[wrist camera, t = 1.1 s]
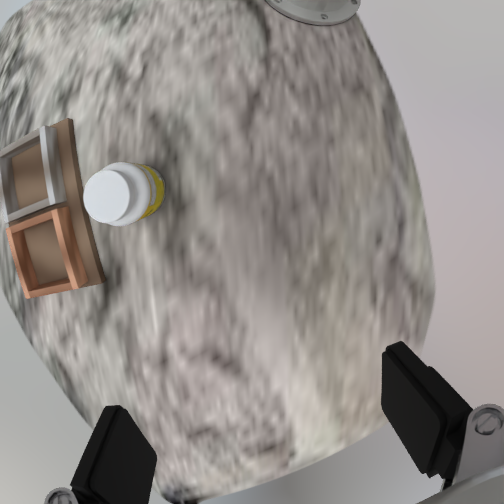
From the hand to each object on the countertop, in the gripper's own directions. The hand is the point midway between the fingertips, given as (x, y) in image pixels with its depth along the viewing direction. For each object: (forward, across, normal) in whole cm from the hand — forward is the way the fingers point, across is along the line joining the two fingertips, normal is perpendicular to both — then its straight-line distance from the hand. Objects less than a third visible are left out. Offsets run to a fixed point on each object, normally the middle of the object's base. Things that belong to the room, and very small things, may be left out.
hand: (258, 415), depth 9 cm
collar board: (+23, +21, -11) cm, 33 cm away
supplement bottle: (+23, +8, -9) cm, 26 cm away
